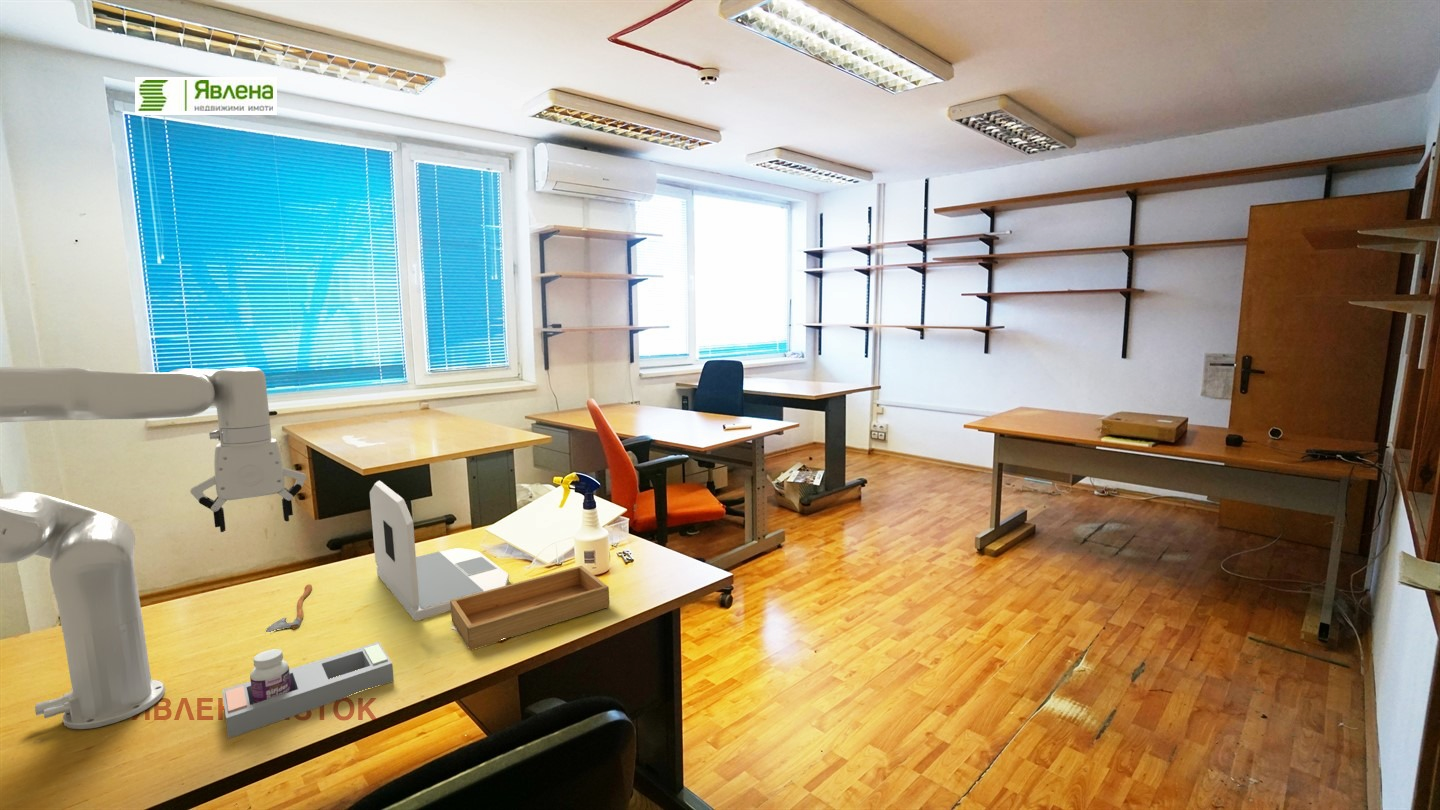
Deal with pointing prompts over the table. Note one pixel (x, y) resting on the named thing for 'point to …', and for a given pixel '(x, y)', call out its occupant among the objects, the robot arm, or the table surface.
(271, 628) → the axe
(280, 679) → the pill bottle
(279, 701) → the socket board
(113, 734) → the table surface
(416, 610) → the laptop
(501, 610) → the tray
